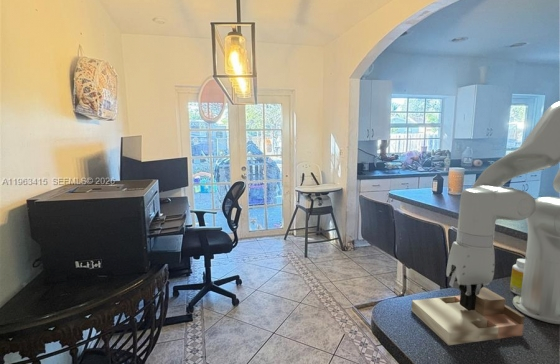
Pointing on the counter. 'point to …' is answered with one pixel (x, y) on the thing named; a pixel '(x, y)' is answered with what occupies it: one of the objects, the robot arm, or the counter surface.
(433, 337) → the counter surface
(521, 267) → the supplement bottle
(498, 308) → the block
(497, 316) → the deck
